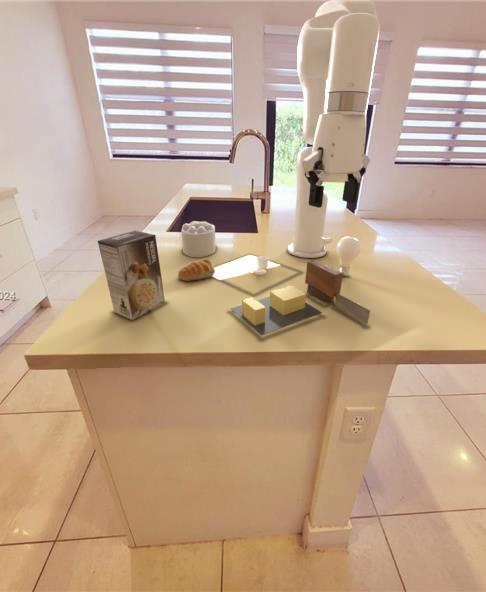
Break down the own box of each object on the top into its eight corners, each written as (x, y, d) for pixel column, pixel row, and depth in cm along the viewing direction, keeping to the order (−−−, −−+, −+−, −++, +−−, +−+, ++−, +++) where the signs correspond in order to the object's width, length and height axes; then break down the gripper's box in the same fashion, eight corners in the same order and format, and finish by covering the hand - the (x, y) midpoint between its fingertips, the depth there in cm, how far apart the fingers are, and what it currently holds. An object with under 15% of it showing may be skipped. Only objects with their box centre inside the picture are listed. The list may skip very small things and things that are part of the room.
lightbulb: (359, 275, 88) (367, 237, 83) (348, 282, 84) (355, 242, 78) (339, 269, 92) (345, 232, 86) (327, 275, 87) (333, 236, 82)
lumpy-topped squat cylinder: (216, 244, 109) (215, 219, 105) (213, 257, 98) (212, 230, 93) (186, 243, 109) (184, 218, 105) (179, 257, 97) (177, 229, 93)
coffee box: (146, 295, 74) (136, 229, 67) (166, 303, 71) (157, 234, 64) (112, 312, 67) (96, 240, 60) (132, 321, 64) (118, 246, 57)
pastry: (186, 285, 80) (184, 271, 78) (174, 276, 84) (172, 263, 82) (217, 274, 85) (216, 261, 83) (204, 267, 89) (203, 254, 87)
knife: (311, 291, 78) (314, 259, 74) (370, 325, 65) (378, 288, 61) (303, 293, 77) (307, 261, 73) (362, 328, 64) (370, 291, 60)
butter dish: (287, 294, 76) (287, 291, 76) (322, 316, 68) (322, 312, 67) (230, 312, 68) (230, 308, 68) (261, 339, 60) (261, 335, 59)
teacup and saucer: (261, 280, 83) (262, 266, 81) (240, 271, 88) (240, 258, 86) (282, 271, 89) (283, 257, 87) (261, 263, 94) (261, 250, 92)
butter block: (290, 298, 72) (291, 285, 71) (304, 308, 69) (306, 293, 67) (269, 305, 69) (270, 291, 68) (283, 315, 66) (284, 300, 64)
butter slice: (251, 311, 67) (252, 297, 65) (265, 322, 63) (265, 307, 62) (241, 314, 66) (241, 299, 64) (254, 325, 62) (255, 310, 60)
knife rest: (315, 293, 77) (316, 282, 76) (333, 303, 73) (335, 291, 72) (306, 296, 76) (307, 285, 74) (324, 306, 71) (325, 294, 70)
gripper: (360, 110, 63) (347, 197, 71) (294, 104, 55) (287, 204, 62) (393, 108, 58) (374, 203, 66) (325, 102, 49) (313, 212, 57)
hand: (332, 203), depth 64 cm, fingers open, 9 cm apart
